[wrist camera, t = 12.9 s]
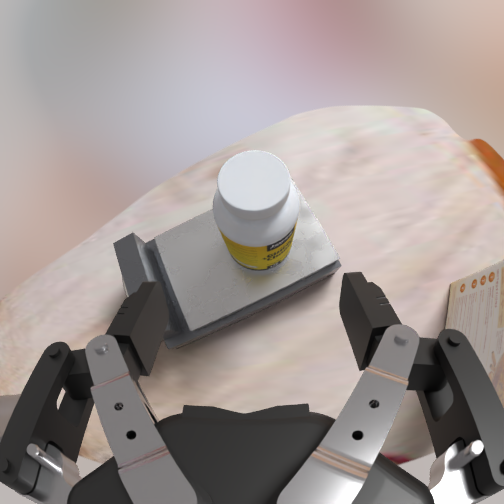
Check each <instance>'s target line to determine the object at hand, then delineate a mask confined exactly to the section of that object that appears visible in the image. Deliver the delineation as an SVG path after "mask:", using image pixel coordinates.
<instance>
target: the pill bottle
mask: <svg viewBox="0 0 504 504" xmlns="http://www.w3.org/2000/svg"><path fill="white" fill-rule="evenodd" d="M217 187H218V189H217V191H216V193H215V196H214V200H213V215H214V218H215V221H216V224H217V226H218V228H219V231H220V233H221V235H222V238H223V240H224V242H225V244H226V246H227V249H228V251H229V253H230V255H231V256H232V258H233V259H234V260H235V261H236V262H237V263H238V264H239V265H241V266H242V267H244V268H246V269H249V270H253V271H265V270H269V269H272V268H274V267H276V266H278V265H279V264H280V263H282V262H283V261H284V260H285V258H286V257H287V255H288V254H289V252H290V249H291V246H292V242H293V237H294V233H295V229H296V224H297V220H298V215H299V209H300V204H299V197H298V194H297V191H296V189H295V187H294V185H293V184H292V183H291V180H290V174H289V171H288V168H287V167H286V165H285V164H284V163H283V161H282V160H280V159H279V158H278V157H277V156H275V155H273V154H271V153H268V152H264V151H258V150H252V151H245V152H242V153H239V154H237V155H235V156H233V157H231V158H230V159H229V160H228V161H227V162H226V163H225V164H224V165H223V166H222V168H221V169H220V172H219V174H218V179H217Z"/></svg>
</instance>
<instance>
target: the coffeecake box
mask: <svg viewBox="0 0 504 504" xmlns="http://www.w3.org/2000/svg"><path fill="white" fill-rule="evenodd" d="M445 329H455V330H458V331H460V332H461V333H463V334H464V335H465V336H466V337H467V339H468V341H469V342H470V344H471V346H472V347H473V349H474V351H475V353H476V354H477V356H478V358H479V360H480V361H481V363H482V365H483V367H484V369H485V371H486V373H487V374H488V376H489V378H490V380H491V382H492V384H493V386H494V388H495V390H496V392H497V395H498V397H499V399H500V401H501V403H502V405H503V408H504V260H502V261H500V262H498V263H496V264H494V265H492V266H489V267H487V268H485V269H483V270H480V271H478V272H476V273H474V274H471V275H469V276H466V277H464V278H462V279H459V280H457V281H455V282H452V283H451V287H450V297H449V306H448V313H447V320H446V326H445Z"/></svg>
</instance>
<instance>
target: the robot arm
mask: <svg viewBox="0 0 504 504" xmlns="http://www.w3.org/2000/svg"><path fill="white" fill-rule="evenodd" d="M339 309H340V315H341V318H342V321H343V323H344V326H345V329H346V332H347V335H348V338H349V341H350V344H351V346H352V349H353V352H354V355H355V358H356V361H357V364H358V368H359V371H361V370H365V371H364V372H363V374H362V376H361V378H360V380H359V382H358V384H357V385H356V387H355V389H354V391H353V392H352V394H351V396H350V398H349V399H348V401H347V403H346V404H345V406H344V408H343V409H342V411H341V413H340V414H339V416H338V418H337V419H336V420H335V419H333V418H331V417H329V416H326V415H323V414H319V413H315V412H309V405H308V404H298V405H284V406H275V407H271V408H268V409H264V410H260V411H256V412H251V413H246V414H243V413H238V412H233V411H229V410H225V409H221V408H217V407H210V406H191V405H184V407H183V412H182V413H181V414H176V415H172V416H169V417H167V418H164V419H162V420H160V421H159V420H158V418H157V416H156V415H155V413H154V411H153V409H152V407H151V406H150V404H149V402H148V400H147V398H146V396H145V394H144V392H143V390H142V388H141V386H140V384H139V382H138V379H139V376H140V375H142V376H150V373H151V370H152V367H153V364H154V361H155V358H156V355H157V352H158V349H159V346H160V343H161V340H162V338H163V335H164V332H165V329H166V326H167V324H168V320H169V310H168V306H167V303H166V299H165V296H164V292H163V289H162V285H161V283H160V282H159V281H144V282H142V284H141V285H140V287H139V289H138V291H137V292H133V293H132V294H131V295H130V296H129V297H127V298H126V299H125V301H124V302H123V304H122V306H121V308H120V309H119V311H118V313H117V314H116V316H115V318H114V320H113V321H112V323H111V325H110V327H109V328H108V330H107V332H106V334H105V335H100V336H97V337H95V338H94V339H92V340H91V341H90V342H89V343H88V344H87V346H86V349H80V350H74V351H71V350H70V348H69V346H68V345H67V344H66V343H65V342H56V343H53V344H51V345H50V346H48V347H47V348H46V350H45V351H44V353H43V354H42V356H41V358H40V360H39V361H38V363H37V365H36V367H35V369H34V370H33V372H32V374H31V376H30V378H29V380H28V382H27V384H26V386H25V388H24V390H23V392H22V394H18V395H3V396H0V482H2V483H3V484H5V485H6V486H8V487H10V488H11V489H13V490H15V491H16V492H17V493H19V494H20V495H22V496H24V497H26V498H28V499H29V500H31V501H34V502H35V503H37V504H476V503H478V502H480V501H482V500H484V499H486V498H488V497H490V496H492V495H493V494H495V493H497V492H499V491H501V490H502V489H504V408H503V405H502V403H501V401H500V399H499V397H498V395H497V392H496V390H495V388H494V386H493V384H492V382H491V380H490V378H489V376H488V374H487V373H486V371H485V369H484V367H483V365H482V363H481V361H480V360H479V358H478V356H477V354H476V353H475V351H474V349H473V347H472V346H471V344H470V342H469V341H468V339H467V337H466V336H465V335H464V334H463V333H461V332H460V331H458V330H455V329H445V330H443V331H442V332H441V333H440V334H439V336H438V338H437V339H431V338H420V337H419V336H418V334H417V332H416V331H415V330H414V329H412V328H411V327H409V326H406V325H402V324H401V322H400V320H399V318H398V317H397V315H396V313H395V311H394V310H393V308H392V306H391V305H390V304H389V301H388V299H387V298H386V297H385V294H384V293H383V291H382V290H381V288H380V287H378V286H377V285H376V284H374V283H373V282H367V281H366V279H365V277H364V276H363V274H362V272H351V273H344V275H343V279H342V287H341V295H340V302H339ZM62 387H63V389H64V390H65V391H66V392H65V395H64V397H63V399H62V402H61V404H60V407H59V409H57V399H58V396H59V394H60V392H61V390H62ZM406 390H416V392H417V394H418V397H419V400H420V403H421V406H422V409H423V412H424V416H425V419H426V422H427V425H428V429H429V432H430V435H431V439H432V443H433V446H434V450H435V454H436V458H437V459H436V460H435V461H434V462H433V464H432V466H431V469H430V483H429V486H428V487H427V486H426V485H425V484H424V483H422V482H421V481H419V480H418V479H416V478H415V477H413V476H412V475H410V474H409V473H408V472H406V471H405V470H403V469H402V468H400V467H399V466H397V465H396V464H395V463H393V462H392V461H390V460H389V459H388V458H386V457H385V456H384V455H382V454H381V453H380V452H379V451H380V449H381V447H382V445H383V443H384V441H385V439H386V437H387V435H388V433H389V431H390V428H391V426H392V424H393V421H394V419H395V417H396V414H397V412H398V410H399V407H400V405H401V402H402V399H403V397H404V394H405V391H406ZM94 403H95V406H96V409H97V412H98V415H99V418H100V421H101V424H102V427H103V429H104V432H105V435H106V437H107V440H108V442H109V445H110V447H111V450H112V452H113V455H114V456H113V457H112V458H110V459H109V460H108V461H106V462H105V463H104V464H102V465H101V466H100V467H98V468H97V469H96V470H94V471H93V472H91V473H90V474H88V475H87V476H85V477H84V478H83V479H82V478H81V477H80V476H79V469H78V467H77V465H76V461H77V458H78V454H79V450H80V447H81V443H82V440H83V437H84V433H85V430H86V427H87V424H88V421H89V417H90V414H91V411H92V408H93V405H94Z"/></svg>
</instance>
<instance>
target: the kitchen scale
mask: <svg viewBox="0 0 504 504" xmlns="http://www.w3.org/2000/svg"><path fill="white" fill-rule="evenodd" d="M113 244H114V248H115V251H116V255H117V259H118V262H119V266H120V269H121V273H122V280H123V285H124V289H125V292H126V295H127V297H129V296H130V295H131V294H132V293H133V292H137V291H138V289H139V287H140V285H141V284H142V282H144V281H159V282H160V283H161V285H162V289H163V292H164V296H165V299H166V303H167V306H168V310H169V320H168V324H167V326H166V329H165V332H164V335H163V338H162V340H164V341H165V343H166V345H167V348H168V349H177V348H179V347H182V346H184V345H186V344H189V343H191V342H193V341H196V340H198V339H200V338H203V337H205V336H207V335H209V334H212V333H214V332H216V331H218V330H220V329H223V328H225V327H227V326H229V325H231V324H233V323H236V322H238V321H240V320H242V319H244V318H246V317H248V316H251V315H253V314H255V313H257V312H259V311H261V310H263V309H265V308H267V307H269V306H271V305H273V304H275V303H277V302H279V301H281V300H283V299H285V298H287V297H289V296H291V295H293V294H295V293H297V292H299V291H301V290H303V289H305V288H307V287H309V286H311V285H313V284H315V283H316V282H318V281H320V280H322V279H324V278H326V277H328V276H330V275H332V274H333V273H335V272H336V271H337V270H338V269H339V268H340V267H341V264H340V262H339V260H338V261H337V262H335V263H334V264H332V265H330V266H328V267H326V268H324V269H322V270H320V271H318V272H316V273H314V274H313V275H311V276H309V277H307V278H305V279H303V280H301V281H299V282H297V283H295V284H293V285H291V286H289V287H287V288H285V289H283V290H281V291H279V292H277V293H275V294H273V295H271V296H269V297H267V298H265V299H263V300H261V301H259V302H257V303H254V304H252V305H250V306H248V307H246V308H244V309H242V310H240V311H238V312H236V313H233V314H231V315H229V316H227V317H225V318H223V319H220V320H218V321H216V322H214V323H212V324H209V325H207V326H205V327H203V328H201V329H198V330H196V331H190V329H189V326H188V324H187V322H186V319H185V317H184V315H183V312H182V310H181V307H180V305H179V302H178V300H177V297H176V295H175V292H174V290H173V287H172V285H171V282H170V280H169V277H168V274H167V272H166V269H165V266H164V264H163V261H162V258H161V255H160V253H159V250H158V247H157V244H156V241H155V239H153V240H151V241H149V242H147V243H145V242H144V241H142V240H141V239H140V238H139V237H138V236H137V235H135V234H134V233H131V234H129V235H128V236H126V237H124V238H122V239H120V240H118V241H117V242H115V243H113Z"/></svg>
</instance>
